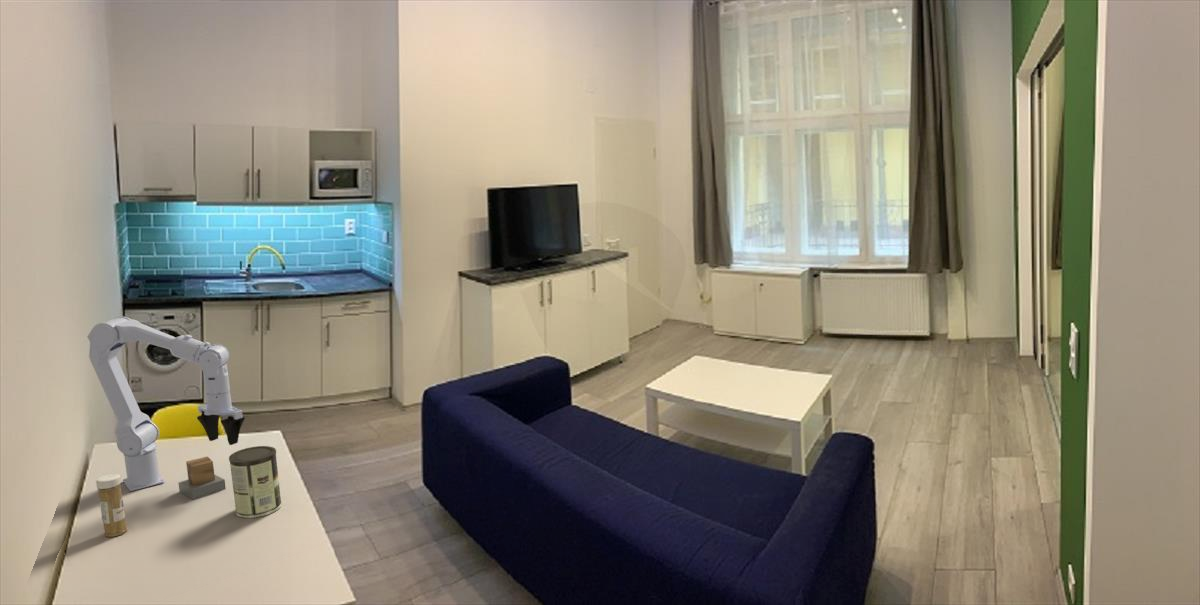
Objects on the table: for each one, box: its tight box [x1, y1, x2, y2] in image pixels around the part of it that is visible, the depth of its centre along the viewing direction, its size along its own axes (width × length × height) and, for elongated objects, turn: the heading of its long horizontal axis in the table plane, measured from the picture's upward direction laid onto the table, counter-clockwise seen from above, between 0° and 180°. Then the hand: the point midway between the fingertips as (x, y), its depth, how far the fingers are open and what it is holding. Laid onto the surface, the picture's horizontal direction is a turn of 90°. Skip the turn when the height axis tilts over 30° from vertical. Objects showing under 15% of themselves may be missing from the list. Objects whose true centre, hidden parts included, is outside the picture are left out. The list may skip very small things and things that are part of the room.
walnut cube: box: [185, 456, 216, 485], centre depth 195 cm, size 5×5×5 cm
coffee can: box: [228, 445, 282, 519], centre depth 182 cm, size 10×10×14 cm
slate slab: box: [178, 474, 227, 501], centre depth 195 cm, size 8×8×3 cm
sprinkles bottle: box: [95, 473, 128, 538], centre depth 172 cm, size 5×5×13 cm
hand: (223, 441), depth 200 cm, fingers open, 7 cm apart
